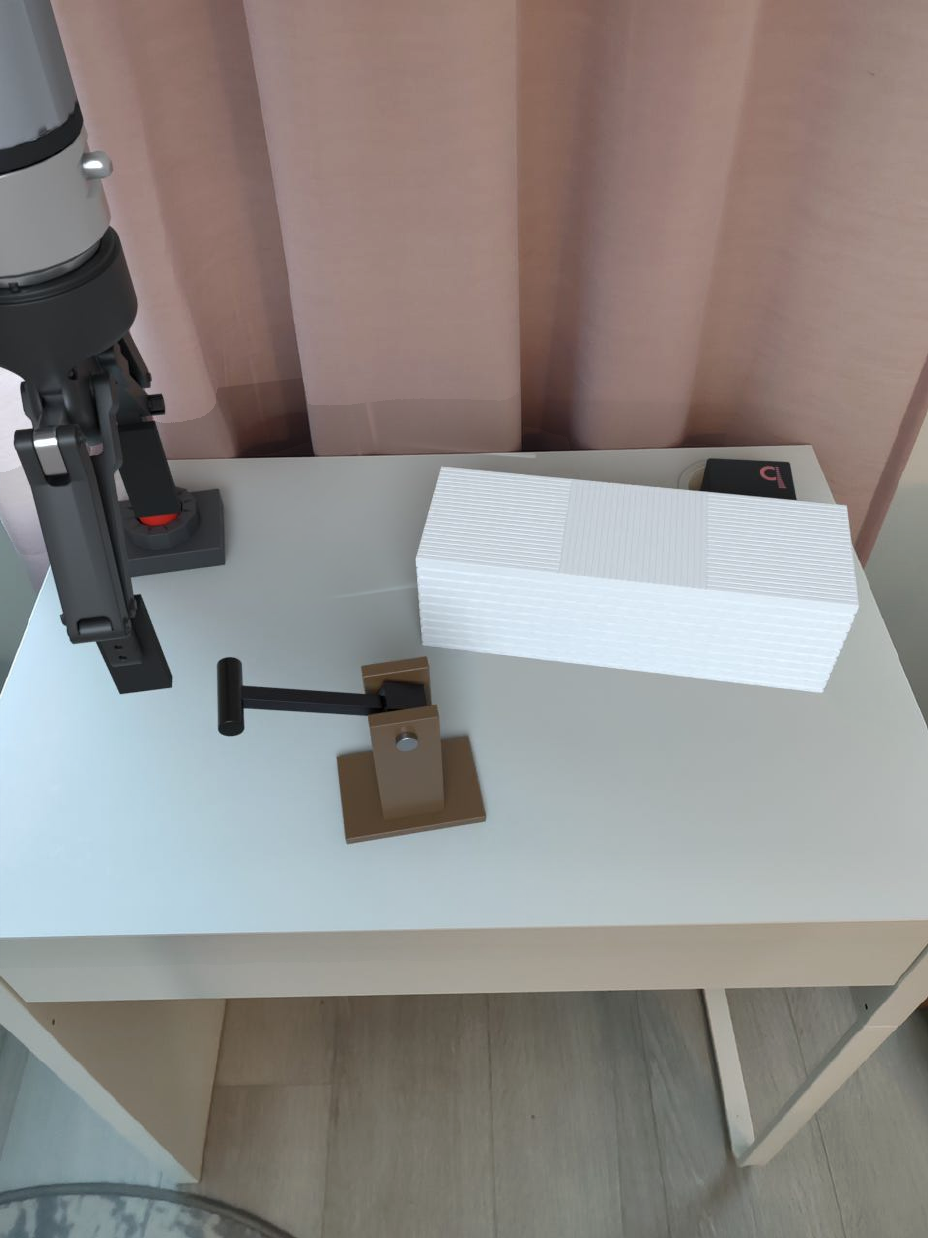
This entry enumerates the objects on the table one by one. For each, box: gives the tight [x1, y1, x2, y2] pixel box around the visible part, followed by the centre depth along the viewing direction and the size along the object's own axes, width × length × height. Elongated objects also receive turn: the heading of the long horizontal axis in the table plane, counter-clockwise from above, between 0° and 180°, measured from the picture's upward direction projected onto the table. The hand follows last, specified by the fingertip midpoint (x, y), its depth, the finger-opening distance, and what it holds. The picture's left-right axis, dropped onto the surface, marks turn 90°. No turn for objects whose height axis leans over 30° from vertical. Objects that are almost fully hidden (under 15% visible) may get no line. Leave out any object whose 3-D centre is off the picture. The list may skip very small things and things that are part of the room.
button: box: [139, 514, 179, 526], centre depth 88 cm, size 4×4×2 cm
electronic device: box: [699, 457, 798, 501], centre depth 88 cm, size 7×11×5 cm
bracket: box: [336, 655, 487, 845], centre depth 69 cm, size 10×7×13 cm
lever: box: [216, 656, 428, 737], centre depth 63 cm, size 13×5×2 cm, turn 100°
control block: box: [118, 485, 226, 578], centre depth 90 cm, size 10×8×4 cm
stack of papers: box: [415, 465, 860, 694], centre depth 80 cm, size 32×11×11 cm, turn 81°
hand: (153, 592), depth 57 cm, fingers open, 13 cm apart
